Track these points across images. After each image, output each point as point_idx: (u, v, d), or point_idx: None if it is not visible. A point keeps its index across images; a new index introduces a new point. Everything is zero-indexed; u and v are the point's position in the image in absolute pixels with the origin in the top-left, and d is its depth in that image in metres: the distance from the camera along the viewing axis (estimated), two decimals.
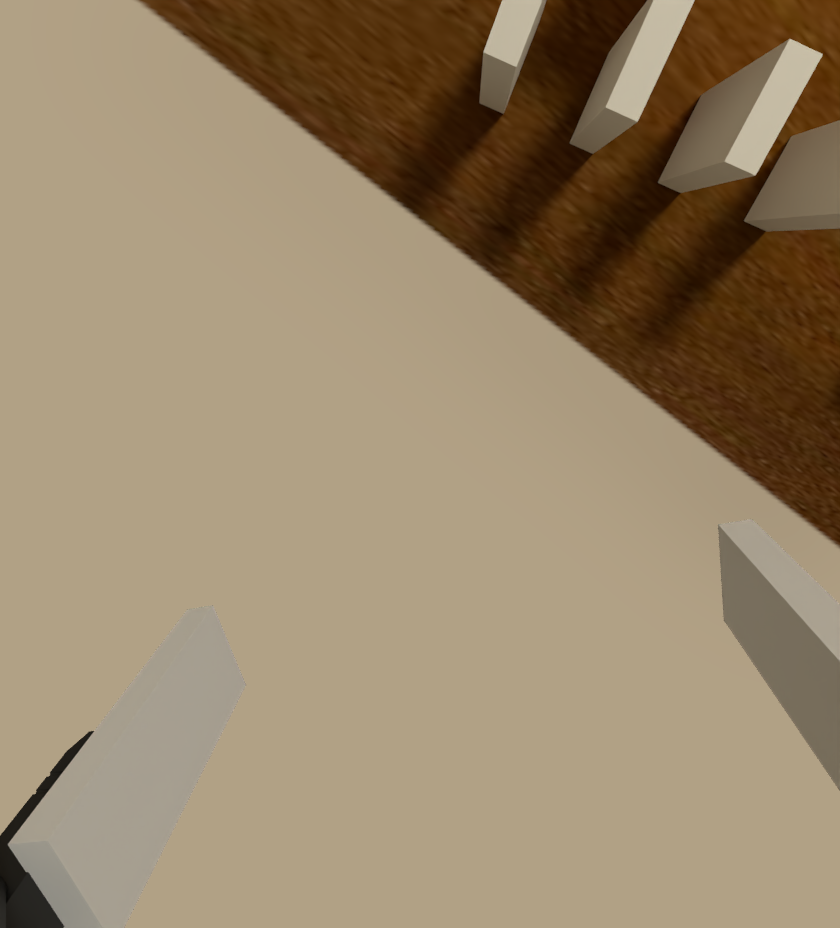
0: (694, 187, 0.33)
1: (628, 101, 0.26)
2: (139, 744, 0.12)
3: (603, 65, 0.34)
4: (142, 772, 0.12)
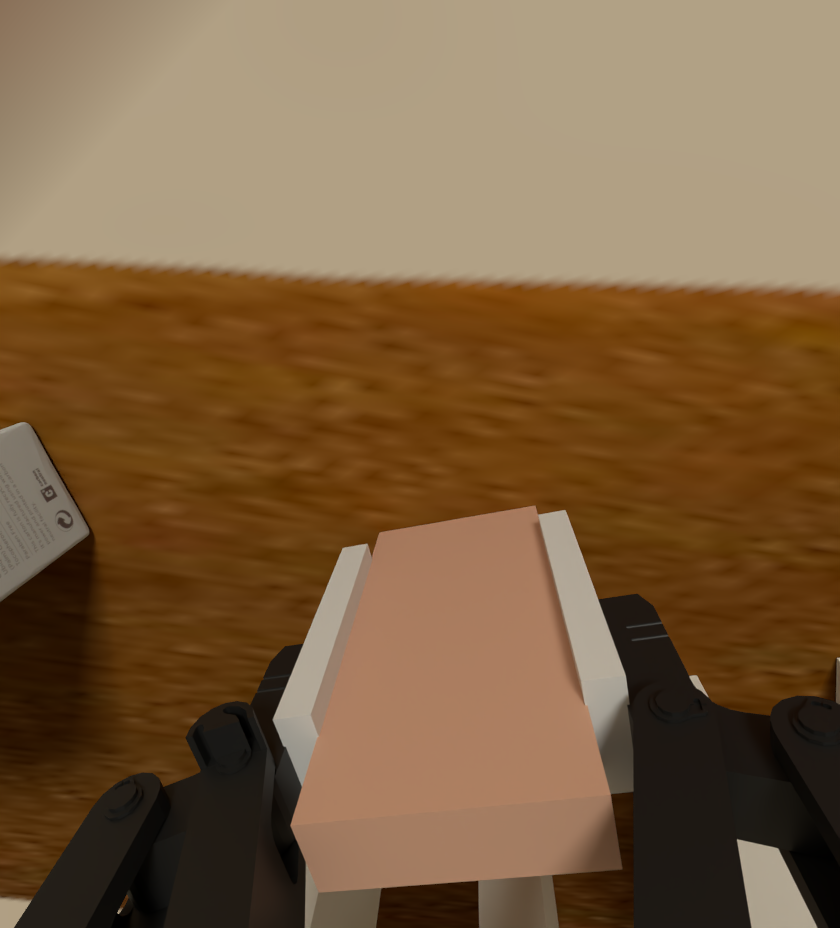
0: None
1: None
2: (344, 651, 0.13)
3: None
4: None
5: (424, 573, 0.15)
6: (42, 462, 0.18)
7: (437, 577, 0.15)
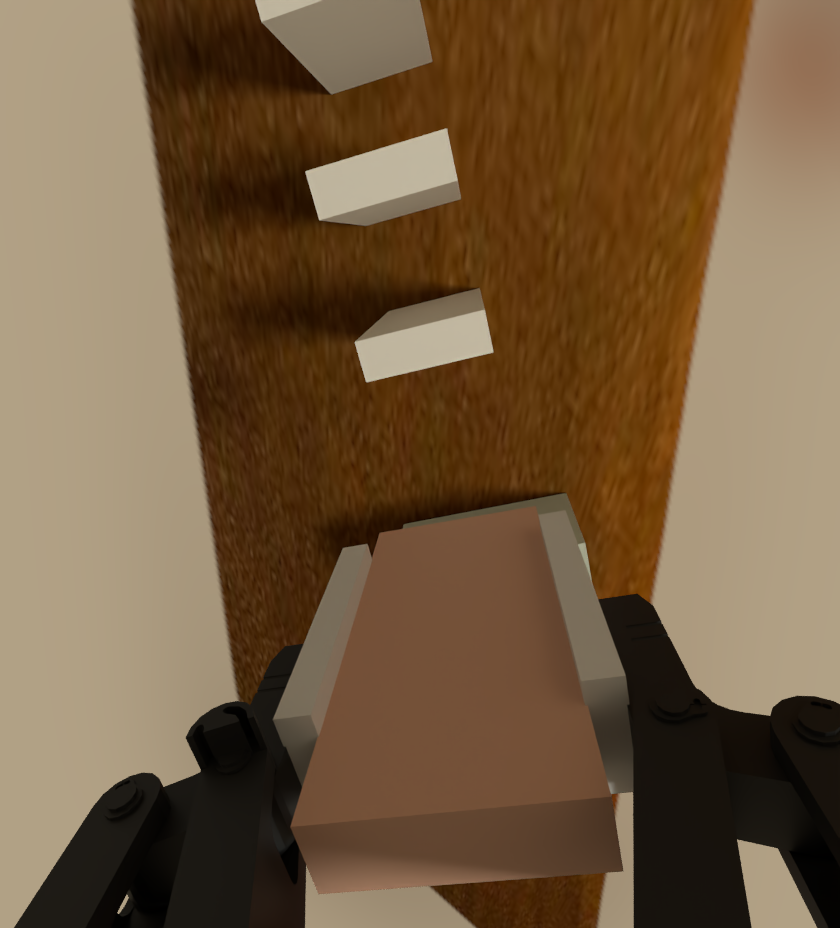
0: None
1: None
2: (344, 651, 0.13)
3: None
4: None
5: (424, 574, 0.15)
6: None
7: (438, 577, 0.15)
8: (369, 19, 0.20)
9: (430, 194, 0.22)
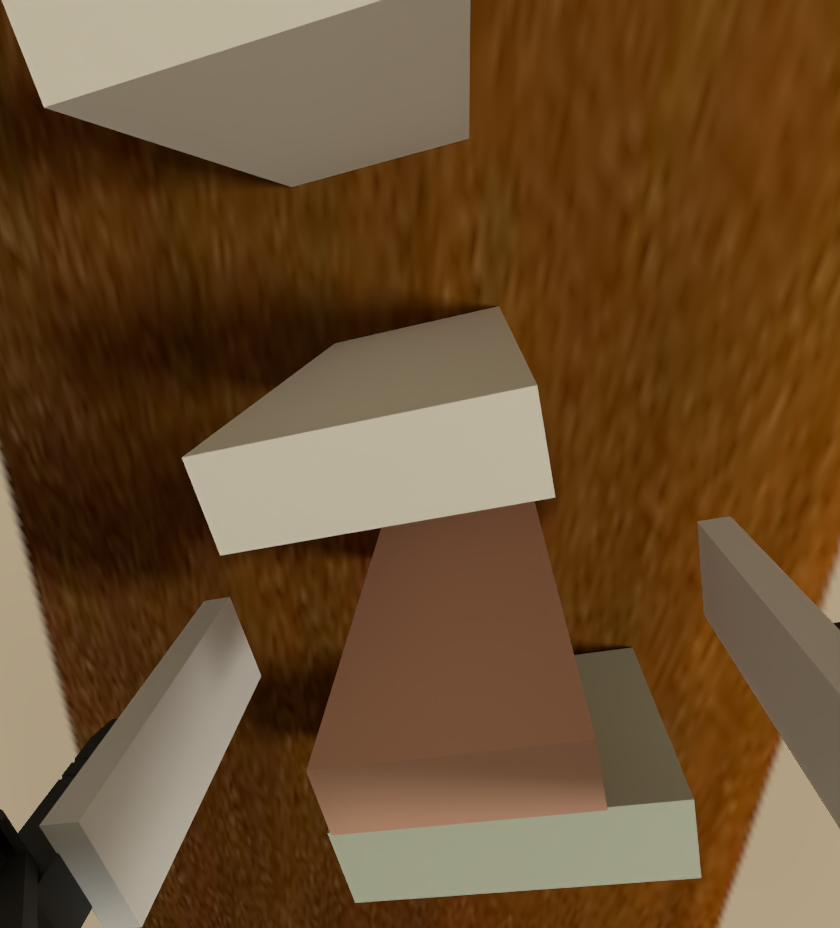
0: None
1: None
2: (162, 731, 0.12)
3: None
4: (165, 758, 0.12)
5: (427, 555, 0.16)
6: None
7: (439, 557, 0.16)
8: None
9: (394, 68, 0.08)
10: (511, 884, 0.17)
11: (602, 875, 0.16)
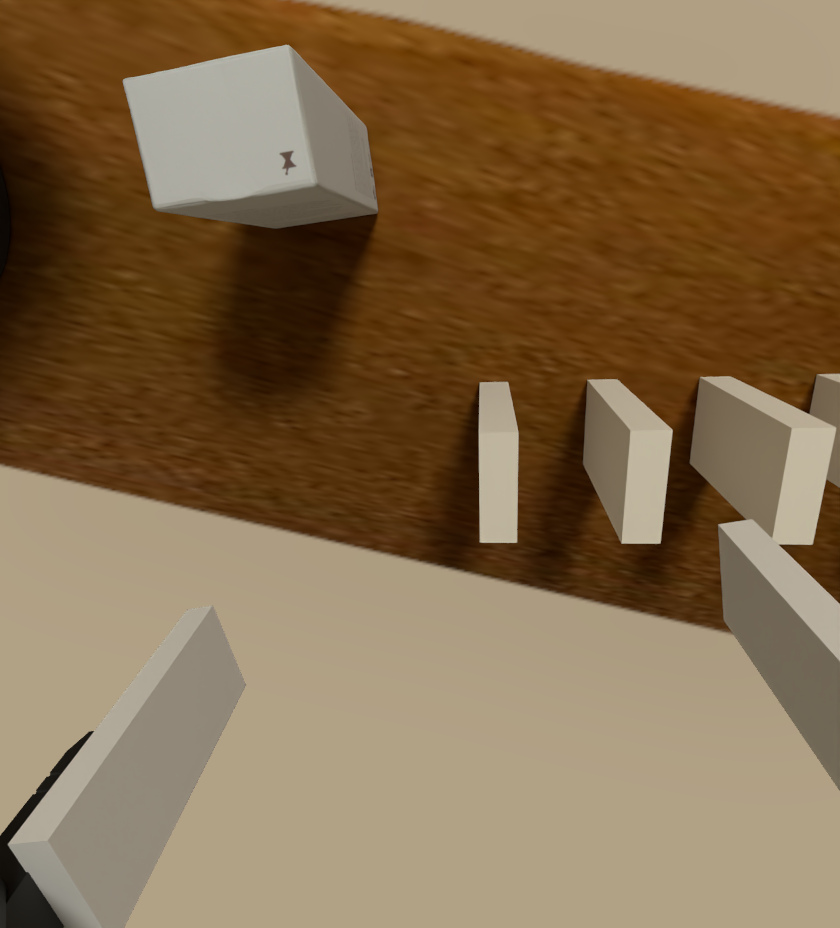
0: None
1: (643, 531, 0.24)
2: (139, 744, 0.12)
3: (587, 394, 0.32)
4: (142, 772, 0.12)
5: None
6: (369, 153, 0.29)
7: None
8: None
9: None
10: None
11: None
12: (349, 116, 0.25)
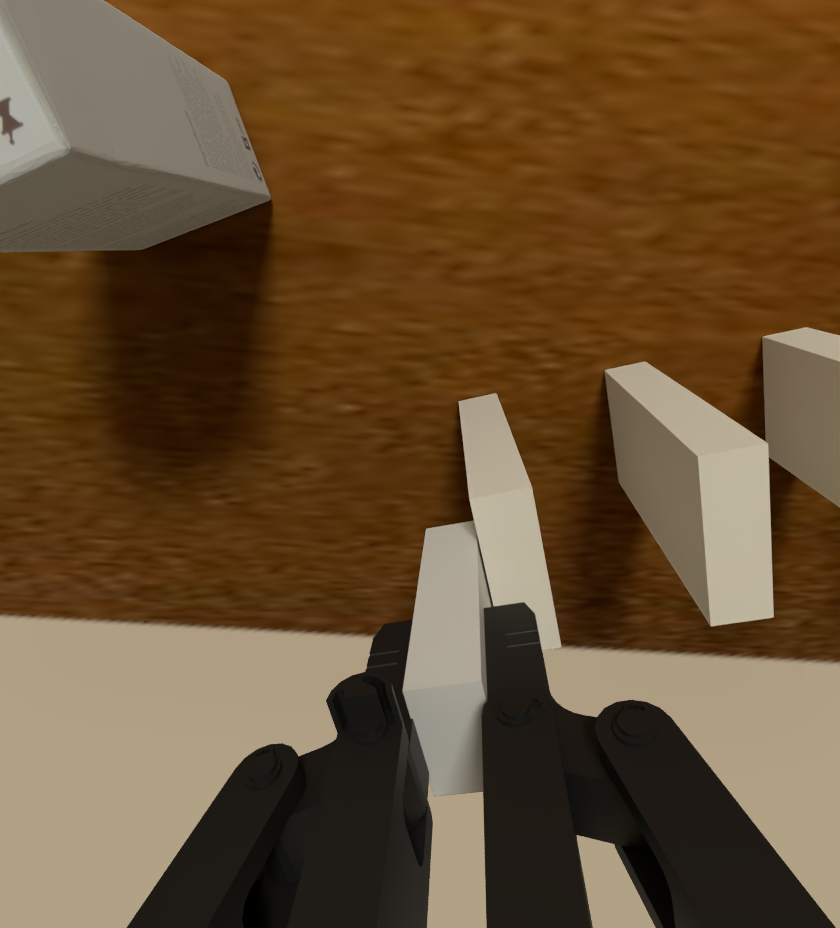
0: None
1: (742, 604, 0.15)
2: None
3: (607, 389, 0.23)
4: None
5: None
6: (239, 117, 0.20)
7: None
8: None
9: None
10: None
11: None
12: (176, 58, 0.17)
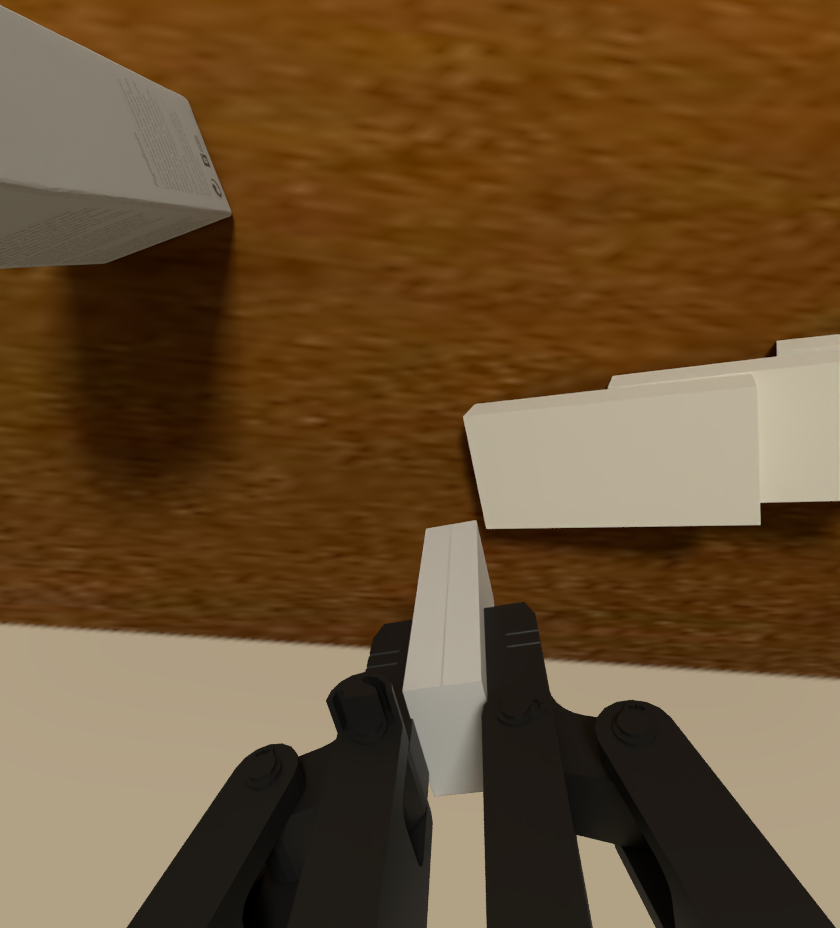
0: None
1: None
2: None
3: None
4: None
5: None
6: (199, 134, 0.21)
7: None
8: None
9: None
10: None
11: None
12: (127, 79, 0.17)
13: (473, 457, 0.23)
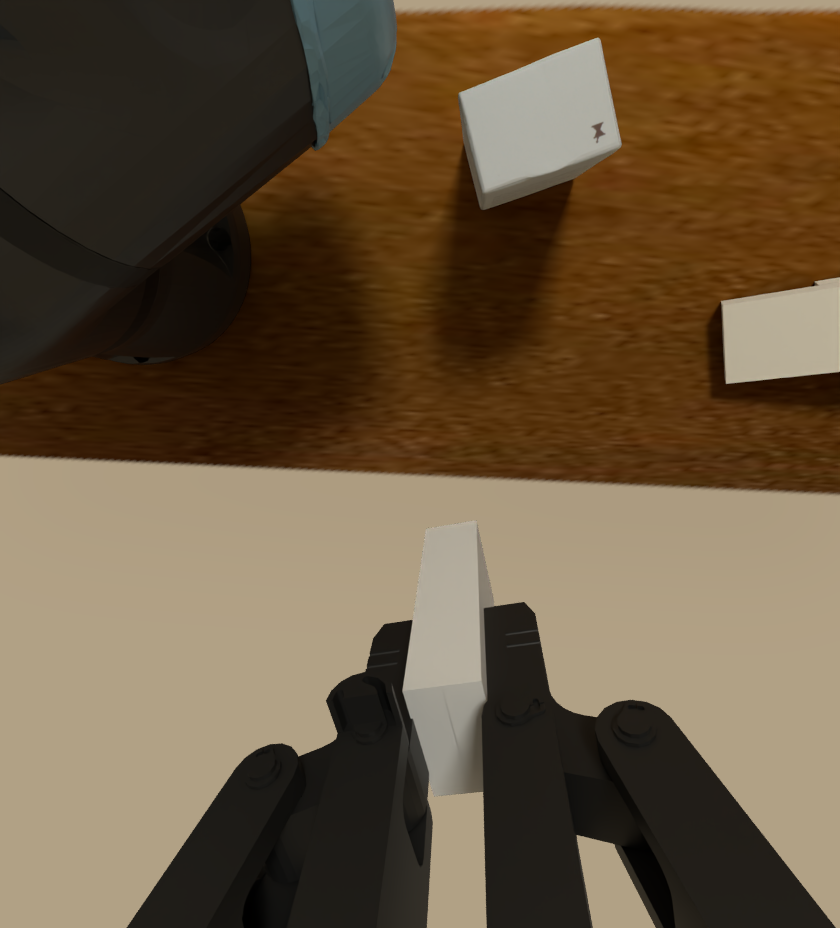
0: None
1: None
2: None
3: None
4: None
5: None
6: None
7: None
8: None
9: None
10: None
11: None
12: None
13: (725, 333, 0.36)
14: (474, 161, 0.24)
